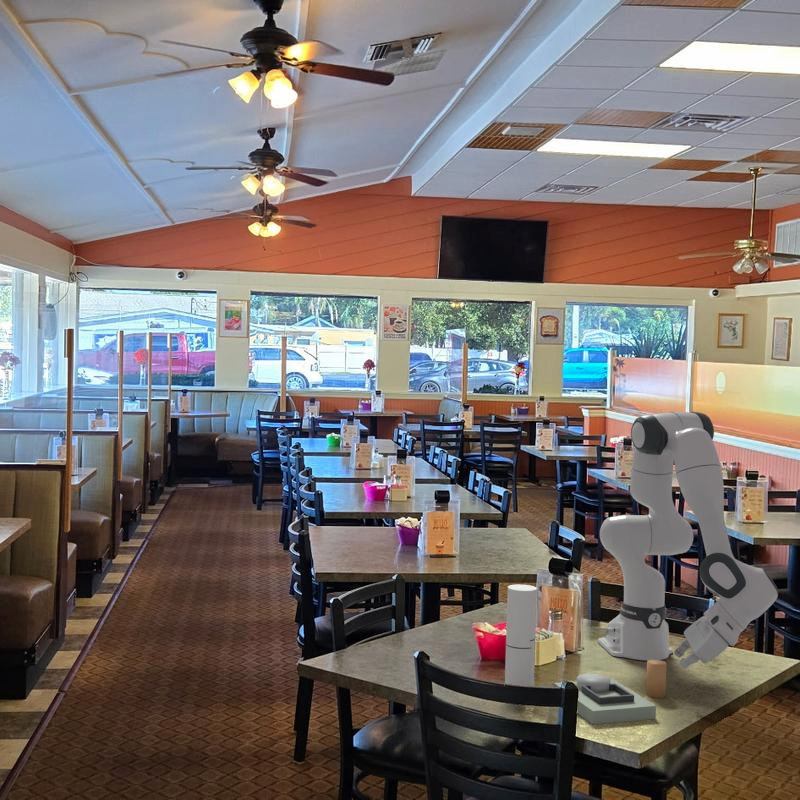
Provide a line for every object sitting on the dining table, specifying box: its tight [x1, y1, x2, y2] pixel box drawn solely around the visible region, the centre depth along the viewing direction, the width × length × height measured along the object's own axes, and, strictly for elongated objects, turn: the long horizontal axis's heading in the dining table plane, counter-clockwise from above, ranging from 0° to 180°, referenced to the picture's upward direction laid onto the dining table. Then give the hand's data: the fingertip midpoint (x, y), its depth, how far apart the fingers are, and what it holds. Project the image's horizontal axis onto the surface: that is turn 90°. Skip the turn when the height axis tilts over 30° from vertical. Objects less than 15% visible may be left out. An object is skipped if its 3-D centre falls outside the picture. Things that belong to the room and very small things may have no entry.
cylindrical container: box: [504, 583, 538, 687], centre depth 244 cm, size 7×7×25 cm
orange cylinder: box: [645, 660, 667, 699], centre depth 242 cm, size 5×5×8 cm
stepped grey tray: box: [553, 673, 657, 725], centre depth 233 cm, size 20×16×5 cm
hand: (678, 660), depth 241 cm, fingers open, 8 cm apart
